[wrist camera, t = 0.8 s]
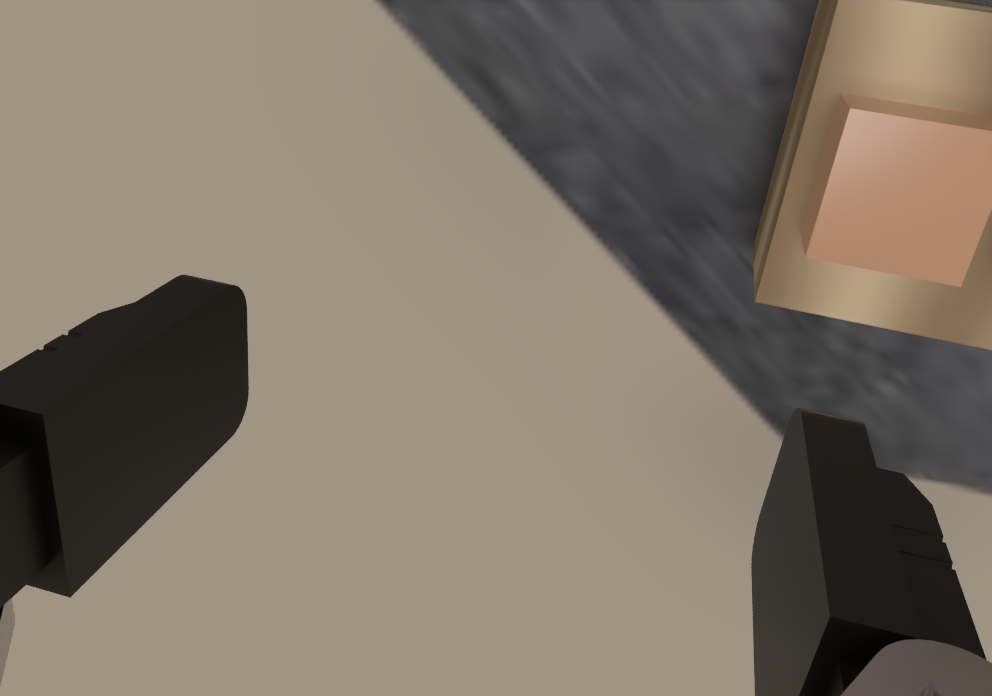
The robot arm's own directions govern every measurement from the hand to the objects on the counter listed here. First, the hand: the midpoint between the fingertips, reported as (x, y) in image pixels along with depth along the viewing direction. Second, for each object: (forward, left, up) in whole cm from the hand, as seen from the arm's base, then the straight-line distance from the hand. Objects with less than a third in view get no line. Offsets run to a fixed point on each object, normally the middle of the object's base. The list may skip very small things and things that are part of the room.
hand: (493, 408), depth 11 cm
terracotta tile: (-7, 0, -17) cm, 18 cm away
